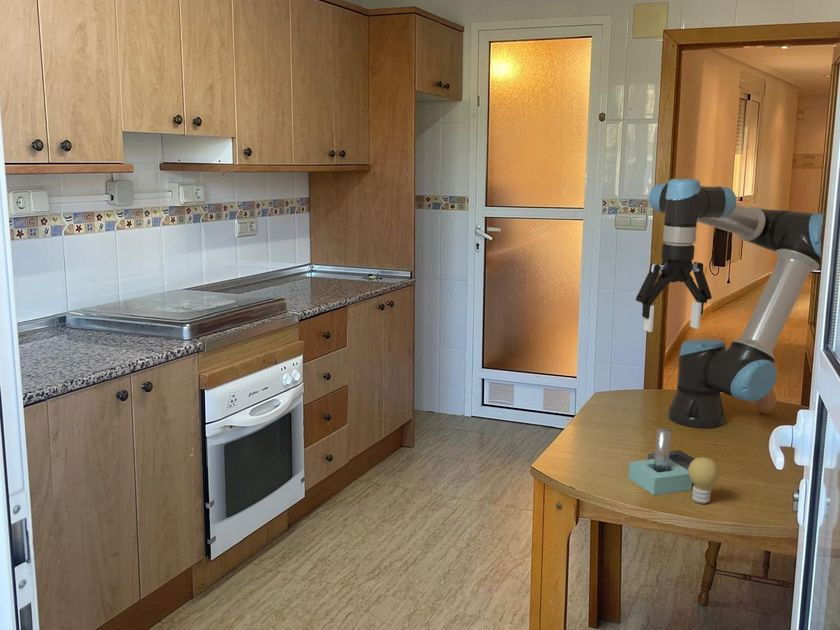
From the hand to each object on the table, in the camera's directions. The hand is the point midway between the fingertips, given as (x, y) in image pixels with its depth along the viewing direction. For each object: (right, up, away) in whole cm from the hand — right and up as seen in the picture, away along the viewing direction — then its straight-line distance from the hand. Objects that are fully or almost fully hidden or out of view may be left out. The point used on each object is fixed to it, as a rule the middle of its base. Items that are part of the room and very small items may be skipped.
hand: (671, 329), depth 207 cm
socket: (-7, -35, -14) cm, 39 cm away
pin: (-7, -35, -14) cm, 39 cm away
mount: (-1, -33, -5) cm, 34 cm away
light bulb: (-1, -38, -23) cm, 44 cm away
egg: (+38, -25, +38) cm, 59 cm away
